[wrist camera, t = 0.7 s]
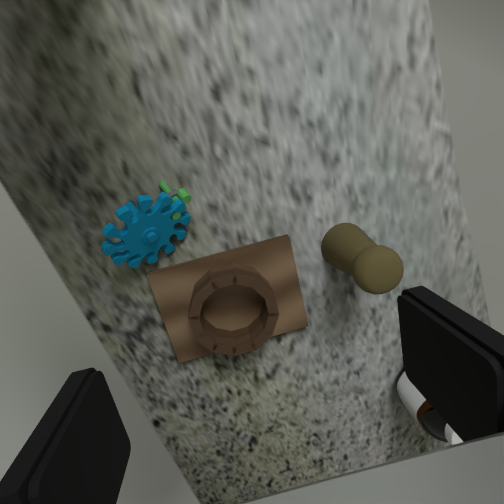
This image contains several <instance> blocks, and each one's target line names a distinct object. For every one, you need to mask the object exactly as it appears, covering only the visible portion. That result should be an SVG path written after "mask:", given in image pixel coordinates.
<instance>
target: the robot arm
mask: <svg viewBox="0 0 504 504" xmlns="http://www.w3.org/2000/svg"><path fill="white" fill-rule="evenodd" d="M397 303H398V313H399V323H400V333H401V343H402V353H403V364H404V371H405V374H406V376H407V378H408V379H409V381H410V382H411V383H412V384H413V385H414V386H415V387H416V389H417V390H418V391H419V392H420V393H421V394H422V395H423V397H424V398H425V399H426V400H427V401H428V402H429V403H430V405H431V406H432V407H433V408H434V409H435V410H436V411H437V412H438V414H439V415H440V416H441V417H442V418H443V419H444V420H445V422H446V423H447V424H448V425H449V426H450V427H451V428H452V429H453V431H454V432H455V433H456V434H457V435H458V436H459V437H460V439H461V440H462V441H463V442H462V443H458V444H454V445H450V446H446V447H443V448H439V449H435V450H431V451H428V452H424V453H420V454H416V455H413V456H409V457H405V458H401V459H398V460H394V461H390V462H386V463H383V464H379V465H375V466H371V467H368V468H364V469H360V470H356V471H353V472H349V473H345V474H342V475H338V476H334V477H331V478H327V479H323V480H320V481H316V482H312V483H309V484H305V485H301V486H298V487H294V488H290V489H287V490H283V491H279V492H276V493H272V494H268V495H265V496H261V497H257V498H254V499H250V500H247V501H243V502H239V503H236V504H504V335H502V334H501V333H499V332H497V331H495V330H494V329H492V328H491V327H489V326H488V325H486V324H484V323H483V322H481V321H479V320H478V319H476V318H474V317H473V316H471V315H470V314H468V313H466V312H465V311H463V310H461V309H460V308H458V307H456V306H455V305H453V304H452V303H450V302H448V301H447V300H445V299H443V298H442V297H440V296H438V295H437V294H435V293H434V292H432V291H430V290H429V289H427V288H425V287H424V286H418V287H414V288H410V289H406V290H403V291H402V294H401V296H398V299H397ZM130 450H131V447H130V440H129V437H128V435H127V432H126V430H125V428H124V425H123V422H122V420H121V417H120V415H119V412H118V410H117V407H116V405H115V402H114V400H113V397H112V395H111V393H110V390H109V387H108V385H107V382H106V380H105V377H104V375H103V373H102V372H101V371H96V370H95V369H94V368H88V369H85V370H81V371H77V372H73V373H72V374H71V375H70V376H69V378H68V379H67V381H66V382H65V384H64V385H63V387H62V388H61V390H60V391H59V393H58V394H57V396H56V398H55V399H54V401H53V402H52V403H51V405H50V407H49V408H48V410H47V411H46V413H45V414H44V416H43V417H42V419H41V420H40V422H39V423H38V425H37V426H36V428H35V429H34V431H33V433H32V434H31V436H30V437H29V439H28V440H27V442H26V443H25V445H24V446H23V448H22V449H21V451H20V452H19V454H18V456H17V457H16V458H15V460H14V462H13V463H12V465H11V466H10V468H9V469H8V471H7V472H6V474H5V475H4V477H3V478H2V480H1V481H0V504H116V502H117V499H118V495H119V491H120V488H121V484H122V481H123V477H124V474H125V470H126V466H127V463H128V459H129V456H130Z"/></svg>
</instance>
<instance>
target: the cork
mask: <svg viewBox="0 0 504 504" xmlns="http://www.w3.org/2000/svg"><path fill="white" fill-rule="evenodd" d="M321 250H322V254H323V257H324V258H325V260H326V261H327V262H328V263H330V264H331V265H333V266H335V267H336V268H338V269H340V270H342V271H344V272H346V273H348V274H349V275H351V276H353V279H354V281H355V282H356V284H357V285H358V286H359V287H360V288H361V289H362V290H364V291H365V292H368V293H371V294H384V293H387V292H390V291H391V290H393V289H394V288H395V287H396V286H397V285H398V284H399V283H400V281H401V279H402V277H403V270H404V268H403V262H402V260H401V258H400V257H399V255H398V254H397V253H396V252H395V251H394V250H392V249H391V248H388V247H385V246H382V245H377V244H376V243H375V242H374V241H373V240H372V239H370V238H369V237H368V236H367V235H366V234H365V233H364V232H363V231H362V230H361V229H360V228H359V227H358V226H356V225H354V224H351V223H341V224H338V225H335V226H334V227H332V228H331V229H330V230H329V231H328V232H327V233H326V234H325V236H324V238H323V241H322V248H321Z"/></svg>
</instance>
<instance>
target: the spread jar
mask: <svg viewBox="0 0 504 504" xmlns="http://www.w3.org/2000/svg"><path fill="white" fill-rule="evenodd" d="M397 391H398V394H399V397H400V399H401V400H402V402H403V404H404V405H405V407H406V408H407V410H408V411H409V412H410V414H411V415H412V416H413V418H414V419H415V420H416V421H417V423H418V424H419V425H420V426H421V427H422V428H423V429H424V430H425V431H426V432H427V433H428V434H430V435H431V436H432V437H434V438H435V439H438V440H440V441H443V442H448V443H450V445H454V444H458V443H462V442H463V441H462V440H461V439H460V437H459V436H458V435H457V434H456V433H455V432H454V431H453V429H452V428H451V427H450V426H449V425H448V424H447V423H446V422H445V420H444V419H443V418H442V417H441V416H440V415H439V414H438V412H437V411H436V410H435V409H434V408H433V407H432V406H431V405H430V403H429V402H428V401H427V400H426V399H425V398H424V397H423V395H422V394H421V393H420V392H419V391H418V390H417V389H416V387H415V386H414V385H413V384H412V383H411V382H410V381H409V379H408V378H407V376H406V374H405V371H404V367H403V369H402V370H401V372H400V374H399V376H398V380H397Z"/></svg>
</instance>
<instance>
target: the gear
mask: <svg viewBox="0 0 504 504" xmlns="http://www.w3.org/2000/svg"><path fill="white" fill-rule="evenodd" d="M159 186H160V187H161V189H162V190H163V191H164V192H165V193H164V192H162V193H160V194H159V196H158V199H157V201H156V203H155V204H154V205H153V206H152V207H150V206H151V205H152V204H153V200H152V199H151V198H150V196H149V195H141V196H138V197H137V203H138V209H137V208H136V207H135V205H134V204H133V203H132V202H128V203H126V205H125V206H122V207H120V208H118V209H117V210H116V211H115V213H116V215H117V216H118V218H119V219H120V220H122V221H124V222H125V227H124V228H123V229H122V230H117V228H116V227H115V225H114V224H113V223H108V224H107V225H106V226H105V227H104V228H103V230H102V232H103V234H104V235H105V237H106V238H119V239H121V241H120V242H118V243H113V242H112V241H109V240H107V241H104V242H103V243H102V251H103V252H104V254H105V255H110V254H112V253H113V254H112V255H111V256H110V257H111V259H112V261H113V262H114V264H115V265H116V266H119V265H121V264H122V263H123V262H124V261H125V260H126V259H127V260H126V262H127V264H128V266H129V267H131V268H137V267H139V265H140V262H141V260H142V259H143V258H144V257H145V259H146V261H147V262H148V264H152V263H156V262H157V261H158V256H157V254H158V251H159V249H160V247H161V246H162V245H163V246H162V249H163V250H164V252H165V253H166V254H169V253H171V252H172V251H174V250H175V247H174V245H173V244H172V243H171V242H170V240H169V238H170V236H171V235H173V234H174V235H175V236H176V238H177V239H178V240H182V239H183V238H184V237H185V236H186V234H187V232H186V231H185V230H184V229H183V228H182V227H180V228H175V227H174V225H175V224H176V223H179V222H180V223H181V224H182V225H187V224H189V222H190V218H191V217H190V215H189V214H188V213H187V212H184V211H185V210H186V206H185V204H184V203H188V202H189V201H190V200H191V196H190V195H189V193H188V192H187V191H186V190H185V189H184V188H181V189H179V190H178V191H176V190H171V189H170V188H169V187H168V186H167V184H166V183H165V182H163V181H162V182H160V183H159ZM183 202H184V203H183ZM149 207H150V208H149ZM148 208H149V209H148ZM147 209H148V210H147ZM146 210H147V211H146ZM181 212H183V213H181ZM131 217H132V218H131ZM120 250H125V251H124V252H117V251H120ZM114 252H116V253H114Z"/></svg>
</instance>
